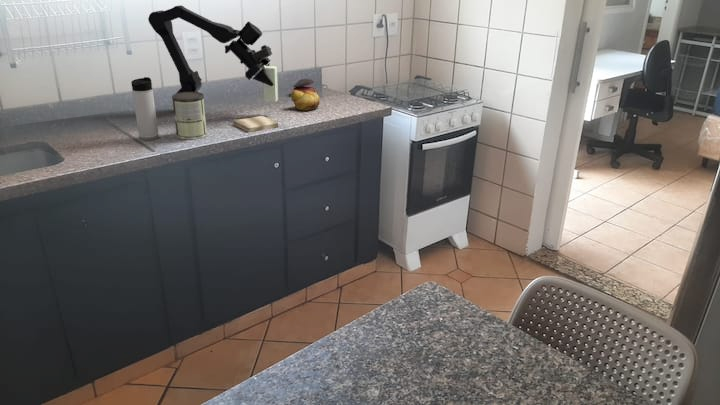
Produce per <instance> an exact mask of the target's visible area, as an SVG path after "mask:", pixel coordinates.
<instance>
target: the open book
mask: <svg viewBox="0 0 720 405" xmlns="http://www.w3.org/2000/svg"><path fill="white" fill-rule="evenodd" d="M233 125H234V126H236V127H238V128H240V129H241V130H244V131H246V132H248V133H252V132H257V131H263V130H268V129H269V130H270V129H275V128H279V122H277V121H275V120H272V119H270V118H268V117H266V116H264V115H258V116H253V117H248V118H247V117H246V118H242V119H241V118H239V119H234V120H233Z"/></svg>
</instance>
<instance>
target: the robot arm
mask: <svg viewBox="0 0 720 405" xmlns="http://www.w3.org/2000/svg"><path fill="white" fill-rule="evenodd" d="M147 19H148V23H149V24H150V27H152V29H153V31H154V32H155V33H156V34H157V35H158V36H159V37H160V38H161V39H162V42H163V43H164V46H165V48H166V49H167V51H168V54H169V55H170V58H171V60H172V61H173V64H174V66H175V68H176V70H177V72H178V77H179V78H178V79H179V84H180V88H179V89H178V91H177V92H176V93H181V92H199V91H201V90H200V89H201V88H202V86H203V84H202V81H203V80H202V78H201V77H200V74H199V72H198V70H195V71H194V70H192V69H191V67H190V65H189V63H188V61H187V59H186V57H185V55H184V53H183V51H182V49H181V47H180V44H179V43H178V40H177V38H176V37H175V34H174V30H173V29H174V28H173V22H172V21H173V20H176V19H181V20H183V21H185V22H187V23H189V24H191V25H193V26H195V27H197V28H198V29H201V30H202V31H204V32H207V33H208V34H209V35H210V36H211V37H212V38H213V39H215V40H216V41H218V42H219V43H220V44H226V45H224V53H225V54H228V53H229V52H231V53H232V54H233V55H234V56H235V57H236V58H238V60H240V61H239V63H240V64H241V65H242V64H243V65H244V66H245V67H246V68H247V71H246V72H245V78H247V79H248V80H249V81H250V80H251V79H252V80H255V81H258V82H261V83H262V84H263V83H265V84H267V85H269V86H273V85H274V84H273V83H272V81H271V80H270V79H269V77H268V76H267V75H266V73H265V66H271V65H270V62H271V59H269V57H271V56H272V55H273V53H272V51H271V50H272V48H271V47H270V46H267V45H266V44H264V45H262V46H260V50H257V51H256V50H255V49H251V48H250V47H249V45H250V46H253V45H254V44H256V42H257V41H258V40H259V39H260V37H262V36H263V32H262V30H261V29H260V28H259V27H258V26H256V25H255V24H253V23H251V21H247V22H245V25H244V26H243V27H242V28H241V30H239V29H234V28H233V27H232V26H230V25H227V24H224V23H220V22H215V21H212V20H211V19H208V18H206V17H205V16H202V15H201V14H198V13H197V12H194V11H193V10H190V9H188V8H186V7H185V6H183V5H175V6H173V7H172V8H168V9H166V10H163V9H162V10H155V11H153V12H150V14H149V16H148V18H147ZM236 38H237V39H236ZM234 39H236V40H234ZM229 42H230V43H229ZM227 43H229V44H227ZM263 67H264V68H263Z"/></svg>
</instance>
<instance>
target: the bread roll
mask: <svg viewBox="0 0 720 405" xmlns="http://www.w3.org/2000/svg"><path fill="white" fill-rule="evenodd" d="M290 98H291V102H293V104H294V108H295V109H297V110H298V111H303V112H305V111H309V110H315V109H318V106H319V105H320V104H321V101H320V100H321V99H320V96H319V95H318V93H317V92H316V91H315V92H313V91H306V92H304V93H303V92H301V91H298V90H292V91H291V94H290Z"/></svg>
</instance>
